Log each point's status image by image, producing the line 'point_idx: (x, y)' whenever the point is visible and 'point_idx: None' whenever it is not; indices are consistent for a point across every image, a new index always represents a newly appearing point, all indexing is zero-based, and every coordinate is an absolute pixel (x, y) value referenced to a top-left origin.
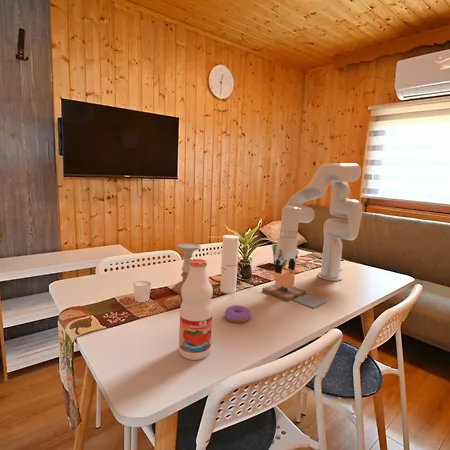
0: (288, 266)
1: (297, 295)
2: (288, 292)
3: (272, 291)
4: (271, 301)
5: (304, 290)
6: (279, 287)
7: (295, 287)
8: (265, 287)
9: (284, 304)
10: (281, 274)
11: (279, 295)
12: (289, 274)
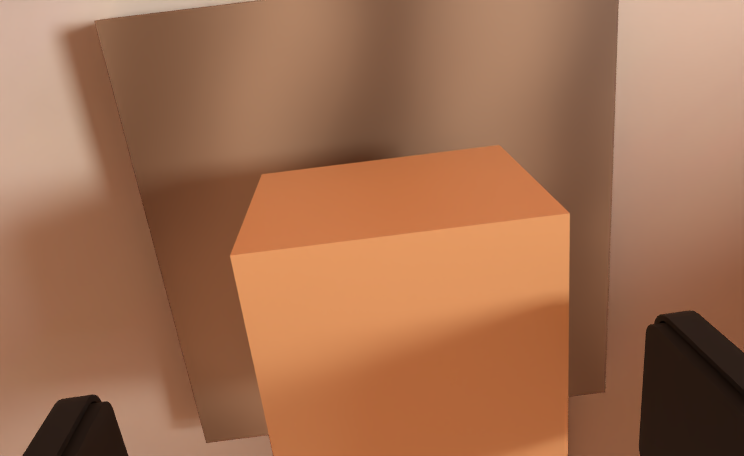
0: (685, 361)
1: None
2: None
3: (168, 206)
4: (33, 337)
5: (605, 373)
6: (391, 134)
7: (601, 250)
8: (170, 19)
9: (130, 450)
10: (294, 369)
11: (179, 336)
12: (463, 436)
